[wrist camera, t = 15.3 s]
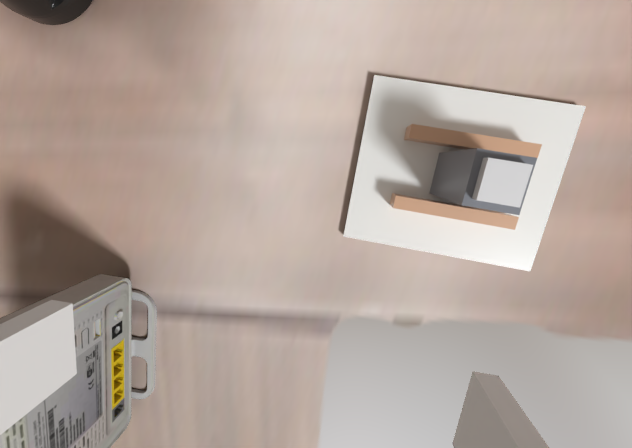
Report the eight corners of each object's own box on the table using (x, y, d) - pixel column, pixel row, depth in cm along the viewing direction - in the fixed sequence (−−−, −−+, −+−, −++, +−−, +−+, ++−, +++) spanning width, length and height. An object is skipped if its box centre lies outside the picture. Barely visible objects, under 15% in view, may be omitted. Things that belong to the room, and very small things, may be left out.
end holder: (373, 77, 37) (376, 66, 33) (579, 108, 35) (608, 100, 31) (343, 234, 41) (343, 242, 37) (525, 268, 39) (545, 280, 35)
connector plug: (439, 152, 36) (482, 147, 25) (481, 159, 36) (545, 157, 24) (429, 193, 38) (465, 206, 26) (469, 200, 37) (525, 217, 25)
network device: (102, 264, 46) (-81, 339, 26) (157, 273, 45) (10, 357, 25) (105, 406, 51) (-46, 557, 31) (154, 416, 50) (31, 577, 31)
